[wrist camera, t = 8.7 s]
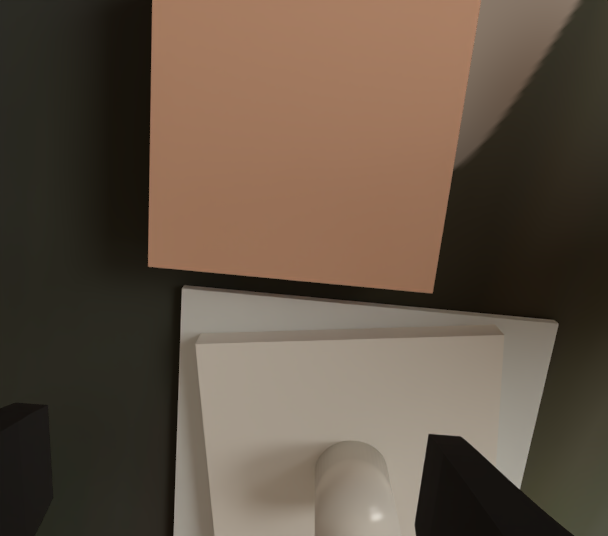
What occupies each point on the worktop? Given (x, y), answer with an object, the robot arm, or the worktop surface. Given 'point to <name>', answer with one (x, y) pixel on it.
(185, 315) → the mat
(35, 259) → the worktop surface
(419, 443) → the lid
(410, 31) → the block
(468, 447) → the robot arm
